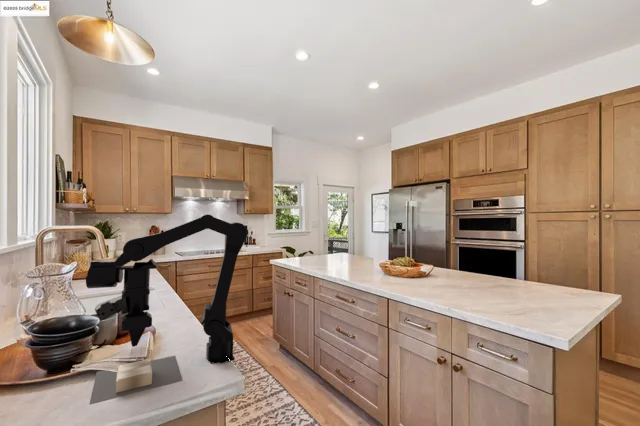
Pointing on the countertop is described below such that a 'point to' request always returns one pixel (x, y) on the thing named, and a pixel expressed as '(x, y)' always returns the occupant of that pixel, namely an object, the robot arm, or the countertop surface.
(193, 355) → the countertop surface
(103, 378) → the mat
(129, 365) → the cream rectangular block
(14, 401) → the countertop surface
